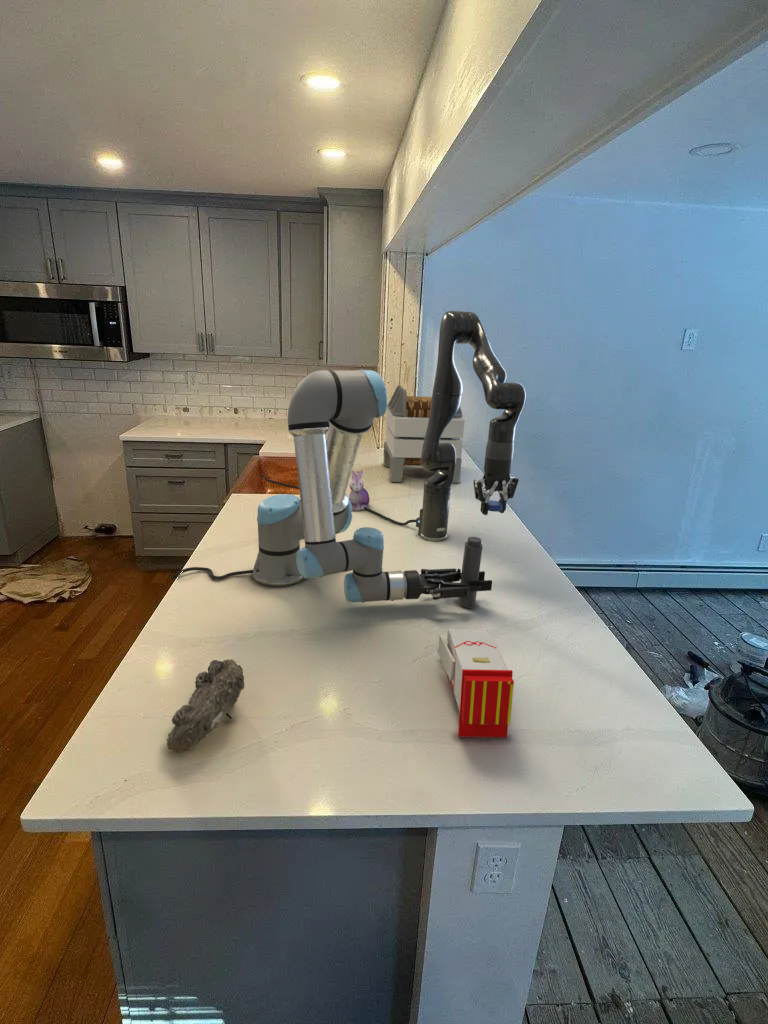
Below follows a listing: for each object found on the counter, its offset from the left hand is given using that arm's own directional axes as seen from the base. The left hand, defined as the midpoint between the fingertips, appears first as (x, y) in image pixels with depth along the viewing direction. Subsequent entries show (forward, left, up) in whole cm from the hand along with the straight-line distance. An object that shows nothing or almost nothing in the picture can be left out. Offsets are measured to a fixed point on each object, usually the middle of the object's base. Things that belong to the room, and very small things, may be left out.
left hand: (487, 580), depth 153 cm
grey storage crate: (-41, +121, -7) cm, 128 cm away
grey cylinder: (-5, -2, -7) cm, 9 cm away
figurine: (-54, +63, -7) cm, 83 cm away
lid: (-1, +16, +16) cm, 23 cm away
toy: (0, -40, -7) cm, 41 cm away
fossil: (-47, -62, -7) cm, 78 cm away
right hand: (-1, +16, +14) cm, 21 cm away
